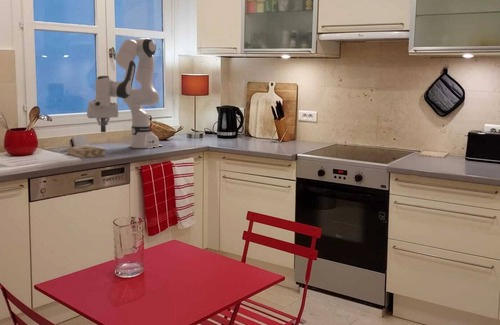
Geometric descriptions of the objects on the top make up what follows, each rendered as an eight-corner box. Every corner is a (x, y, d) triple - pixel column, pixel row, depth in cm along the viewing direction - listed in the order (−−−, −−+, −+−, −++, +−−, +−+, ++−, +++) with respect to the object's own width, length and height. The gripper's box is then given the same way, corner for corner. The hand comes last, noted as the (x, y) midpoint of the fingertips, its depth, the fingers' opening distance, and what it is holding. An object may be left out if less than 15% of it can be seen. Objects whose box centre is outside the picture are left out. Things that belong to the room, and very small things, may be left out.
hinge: (78, 151, 346) (73, 135, 345) (72, 153, 347) (67, 138, 346) (91, 148, 362) (87, 133, 361) (85, 150, 363) (80, 135, 362)
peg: (104, 131, 345) (103, 116, 343) (106, 131, 343) (106, 117, 341) (99, 131, 342) (99, 117, 341) (102, 132, 340) (102, 117, 339)
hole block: (88, 152, 343) (88, 145, 343) (104, 155, 332) (104, 149, 331) (67, 153, 333) (67, 147, 333) (83, 157, 321) (83, 150, 321)
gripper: (114, 102, 349) (114, 123, 352) (85, 102, 334) (85, 125, 337) (120, 102, 345) (120, 124, 347) (91, 103, 330) (91, 126, 332)
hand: (103, 125), depth 342 cm, fingers closed on peg, 3 cm apart
